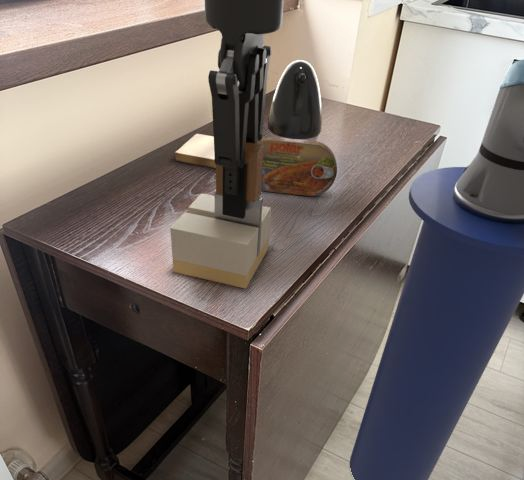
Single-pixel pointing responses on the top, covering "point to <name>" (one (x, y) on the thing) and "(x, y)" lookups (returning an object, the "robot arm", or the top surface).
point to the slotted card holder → (217, 244)
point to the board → (198, 151)
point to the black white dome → (296, 104)
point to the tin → (297, 166)
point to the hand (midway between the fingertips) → (238, 209)
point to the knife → (252, 190)
